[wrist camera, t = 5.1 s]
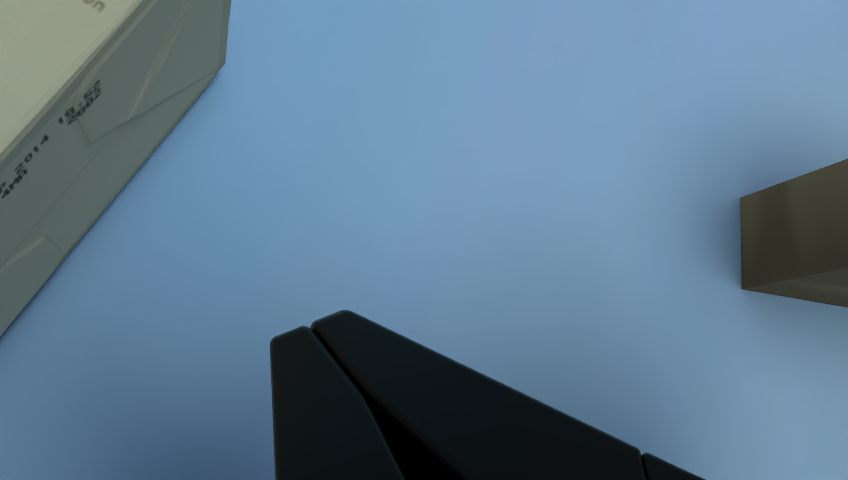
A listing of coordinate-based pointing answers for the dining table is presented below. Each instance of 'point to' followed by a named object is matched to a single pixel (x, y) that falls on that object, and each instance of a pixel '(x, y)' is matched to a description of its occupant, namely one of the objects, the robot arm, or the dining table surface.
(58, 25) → the coffee box
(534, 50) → the dining table surface
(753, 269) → the dot tablet
